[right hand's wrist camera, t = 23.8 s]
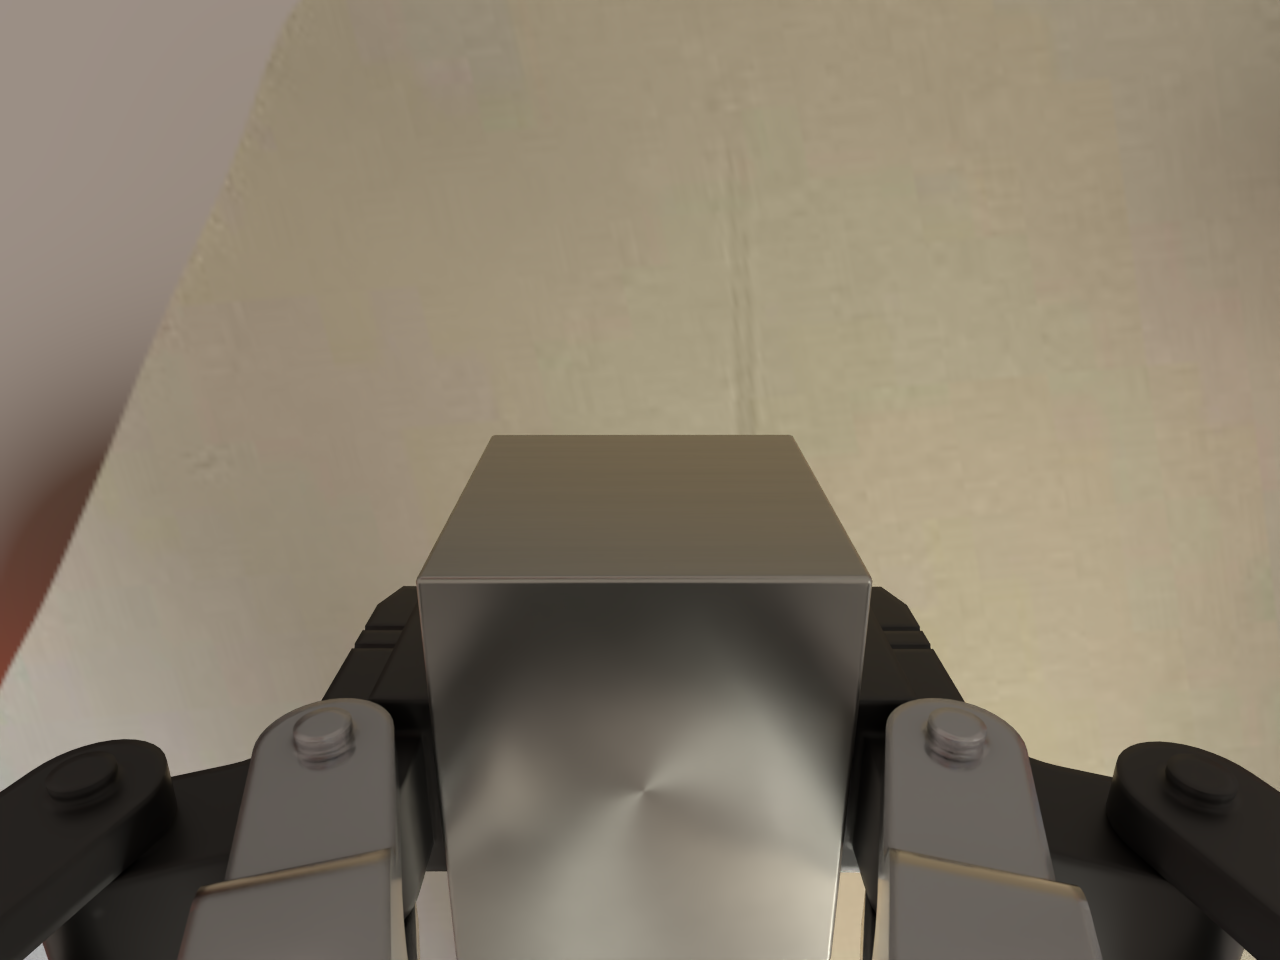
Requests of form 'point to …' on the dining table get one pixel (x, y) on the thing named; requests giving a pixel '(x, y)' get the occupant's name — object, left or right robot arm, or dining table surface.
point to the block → (643, 698)
